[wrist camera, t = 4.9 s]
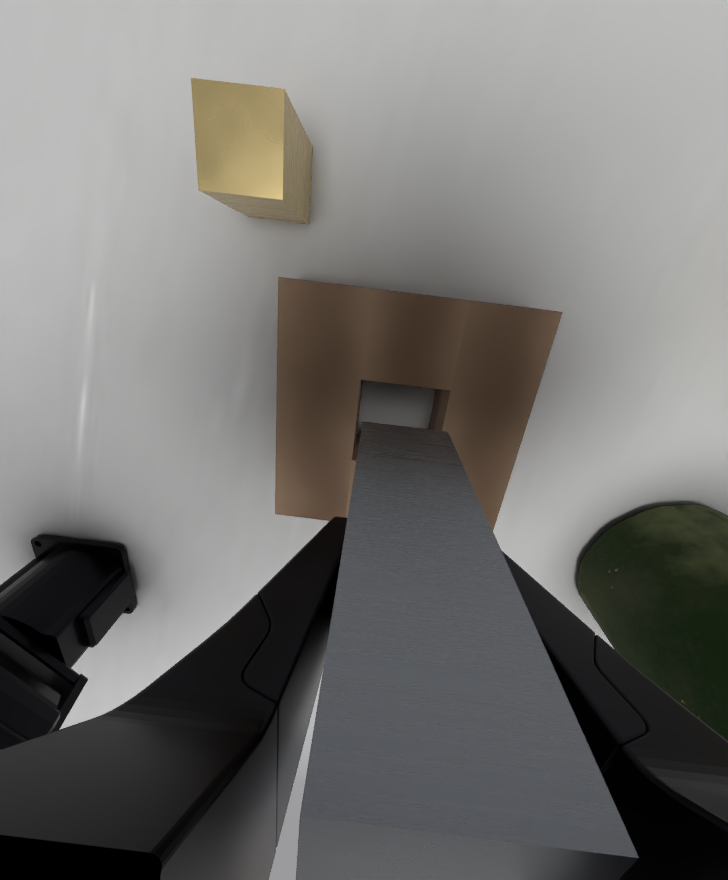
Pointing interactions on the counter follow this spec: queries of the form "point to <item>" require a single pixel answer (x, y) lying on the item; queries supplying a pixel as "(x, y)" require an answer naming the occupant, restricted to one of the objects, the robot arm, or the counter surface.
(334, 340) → the socket block
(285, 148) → the short pin
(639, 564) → the dark green bottle
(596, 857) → the long pin
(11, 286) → the counter surface
